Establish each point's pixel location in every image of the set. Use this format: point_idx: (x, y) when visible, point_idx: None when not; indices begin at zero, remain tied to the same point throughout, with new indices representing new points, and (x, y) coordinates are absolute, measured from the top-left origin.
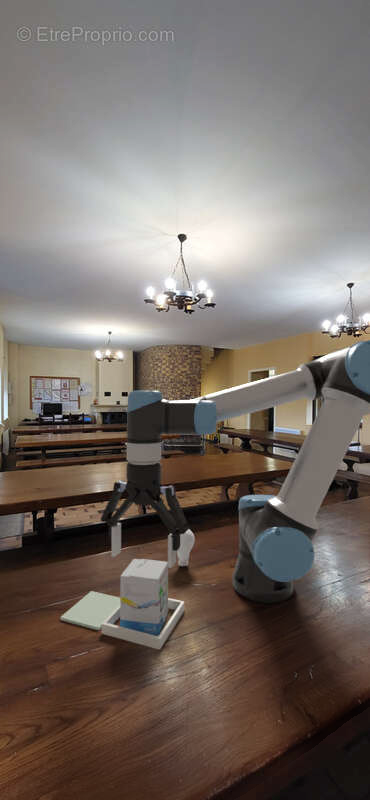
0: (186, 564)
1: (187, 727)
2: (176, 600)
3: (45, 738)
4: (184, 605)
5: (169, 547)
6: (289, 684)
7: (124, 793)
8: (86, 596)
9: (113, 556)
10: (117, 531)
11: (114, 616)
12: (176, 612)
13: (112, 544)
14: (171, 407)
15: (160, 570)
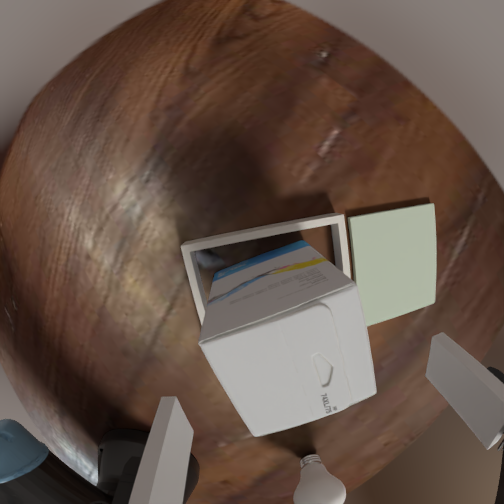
0: (301, 460)
1: (64, 138)
2: None
3: (232, 14)
4: None
5: (150, 464)
6: (11, 285)
7: (97, 39)
8: (433, 284)
9: (436, 335)
10: (484, 412)
11: (340, 260)
12: None
13: (469, 358)
14: None
15: (236, 392)
